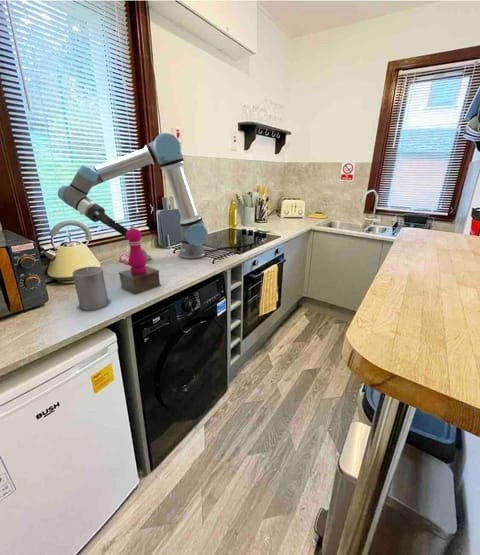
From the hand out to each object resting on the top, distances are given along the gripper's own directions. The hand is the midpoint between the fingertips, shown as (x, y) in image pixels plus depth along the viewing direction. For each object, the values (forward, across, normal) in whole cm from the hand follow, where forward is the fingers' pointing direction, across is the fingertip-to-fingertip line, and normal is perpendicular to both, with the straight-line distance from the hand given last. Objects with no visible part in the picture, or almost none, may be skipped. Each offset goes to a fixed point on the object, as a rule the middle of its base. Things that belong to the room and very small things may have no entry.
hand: (131, 237), depth 124 cm
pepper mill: (+13, +5, -11) cm, 18 cm away
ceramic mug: (0, -32, -6) cm, 33 cm away
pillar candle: (+10, +16, -30) cm, 36 cm away
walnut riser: (+17, +2, -16) cm, 23 cm away
